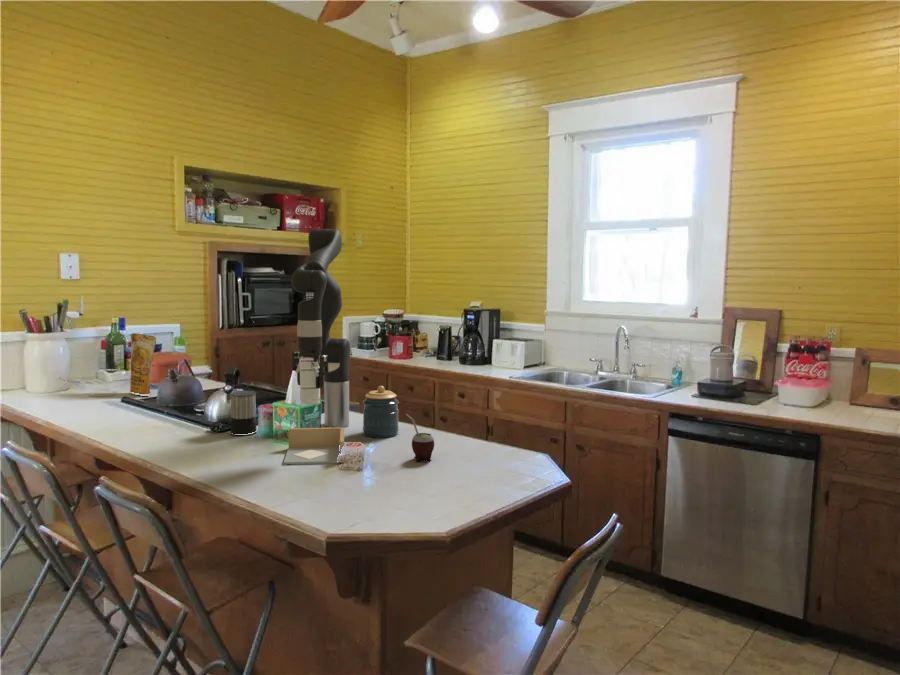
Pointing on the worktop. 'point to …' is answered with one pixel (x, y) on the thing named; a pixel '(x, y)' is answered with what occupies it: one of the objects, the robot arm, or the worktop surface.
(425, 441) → the mate gourd
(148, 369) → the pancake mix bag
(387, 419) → the canister
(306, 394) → the syrup box
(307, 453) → the corner arena
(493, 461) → the worktop surface
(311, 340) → the robot arm
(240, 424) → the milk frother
